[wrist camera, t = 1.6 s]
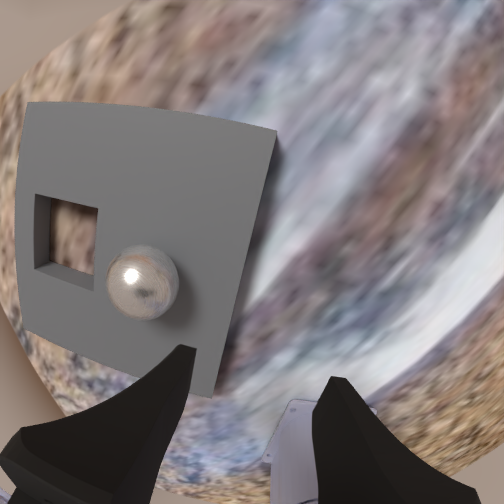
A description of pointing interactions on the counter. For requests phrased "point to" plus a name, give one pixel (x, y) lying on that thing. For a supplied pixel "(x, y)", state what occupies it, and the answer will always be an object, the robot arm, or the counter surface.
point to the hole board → (138, 225)
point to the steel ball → (142, 282)
